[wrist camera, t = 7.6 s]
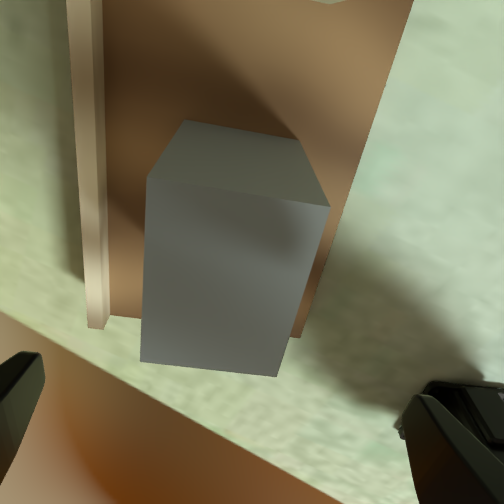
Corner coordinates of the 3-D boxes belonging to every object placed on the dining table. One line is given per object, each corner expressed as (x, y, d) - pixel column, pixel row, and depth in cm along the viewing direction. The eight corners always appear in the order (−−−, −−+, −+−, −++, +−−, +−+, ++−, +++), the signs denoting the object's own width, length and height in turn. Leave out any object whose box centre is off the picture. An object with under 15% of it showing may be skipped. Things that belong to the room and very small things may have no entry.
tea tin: (299, 140, 16) (330, 207, 10) (267, 270, 20) (276, 376, 14) (180, 118, 16) (141, 176, 10) (169, 257, 19) (135, 361, 13)
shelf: (296, 321, 24) (302, 353, 21) (102, 296, 22) (85, 327, 20) (484, -262, 11) (544, -335, 9) (76, -390, 10) (25, -514, 8)
